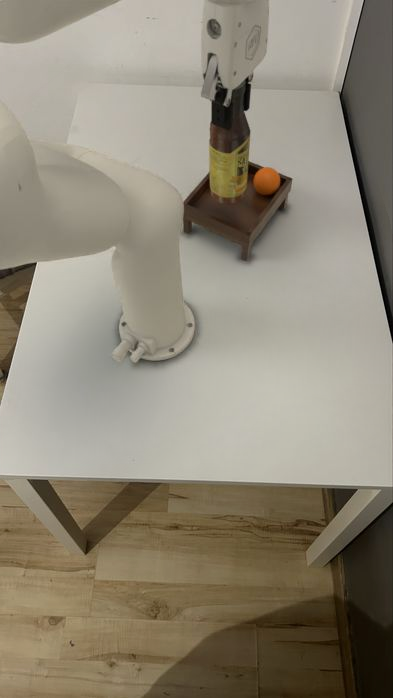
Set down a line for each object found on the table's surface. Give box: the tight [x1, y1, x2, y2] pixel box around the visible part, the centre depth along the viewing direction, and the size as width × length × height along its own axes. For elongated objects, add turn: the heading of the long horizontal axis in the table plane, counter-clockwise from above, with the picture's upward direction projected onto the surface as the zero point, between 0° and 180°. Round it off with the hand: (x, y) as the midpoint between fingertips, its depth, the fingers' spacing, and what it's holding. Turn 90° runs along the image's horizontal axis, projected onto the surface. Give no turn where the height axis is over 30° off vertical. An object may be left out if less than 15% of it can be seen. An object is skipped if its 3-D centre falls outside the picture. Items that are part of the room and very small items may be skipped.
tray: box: [182, 161, 294, 262], centre depth 92 cm, size 16×14×7 cm
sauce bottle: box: [208, 80, 251, 204], centre depth 77 cm, size 6×6×20 cm
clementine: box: [253, 166, 280, 195], centre depth 90 cm, size 5×5×5 cm
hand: (230, 115), depth 73 cm, fingers closed on sauce bottle, 4 cm apart
